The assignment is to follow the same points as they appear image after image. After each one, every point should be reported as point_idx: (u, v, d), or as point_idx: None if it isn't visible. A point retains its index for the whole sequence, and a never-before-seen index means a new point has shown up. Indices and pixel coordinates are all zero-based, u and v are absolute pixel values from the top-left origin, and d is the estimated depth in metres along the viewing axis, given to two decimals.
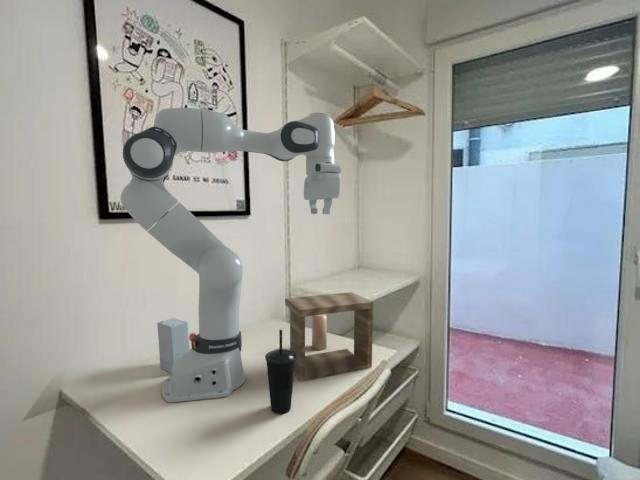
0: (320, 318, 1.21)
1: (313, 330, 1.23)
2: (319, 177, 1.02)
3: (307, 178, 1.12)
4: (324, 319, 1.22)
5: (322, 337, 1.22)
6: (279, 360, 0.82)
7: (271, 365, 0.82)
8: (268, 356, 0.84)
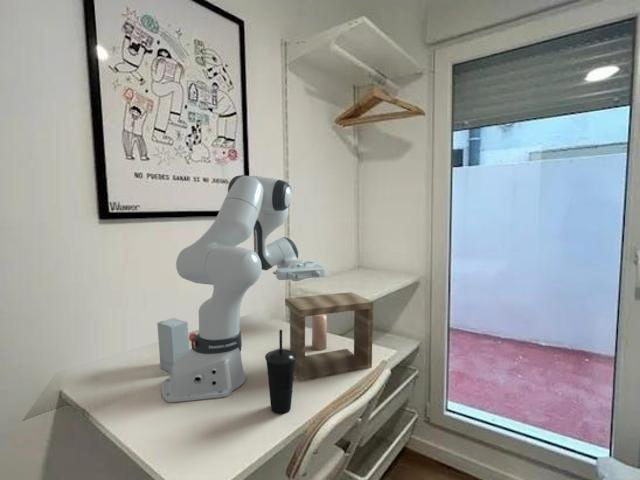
0: (320, 318, 1.21)
1: (313, 330, 1.23)
2: (308, 265, 1.46)
3: (283, 268, 1.42)
4: (324, 319, 1.22)
5: (322, 337, 1.22)
6: (279, 360, 0.82)
7: (271, 365, 0.82)
8: (268, 356, 0.84)
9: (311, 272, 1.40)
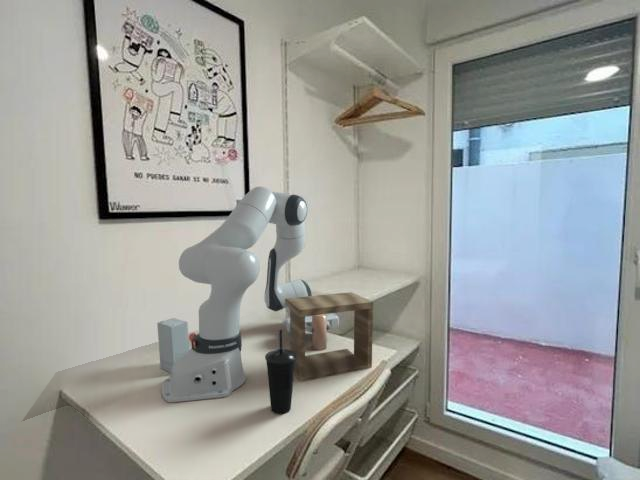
0: (320, 318, 1.21)
1: (313, 330, 1.23)
2: None
3: None
4: (324, 319, 1.22)
5: (322, 337, 1.22)
6: (279, 360, 0.82)
7: (271, 365, 0.82)
8: (268, 356, 0.84)
9: None
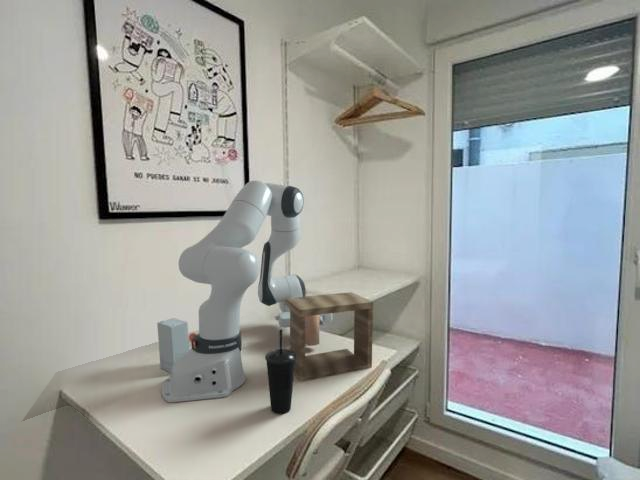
0: None
1: (306, 325, 1.21)
2: None
3: (286, 312, 1.29)
4: None
5: (314, 332, 1.20)
6: (279, 360, 0.82)
7: (271, 365, 0.82)
8: (268, 356, 0.84)
9: None
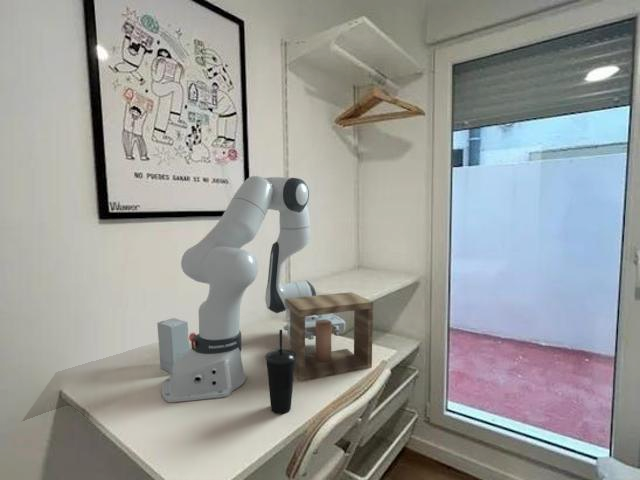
0: (324, 326, 1.10)
1: (317, 339, 1.12)
2: (325, 317, 1.24)
3: None
4: (329, 327, 1.11)
5: (326, 346, 1.11)
6: (279, 360, 0.82)
7: (271, 365, 0.82)
8: (268, 356, 0.84)
9: None
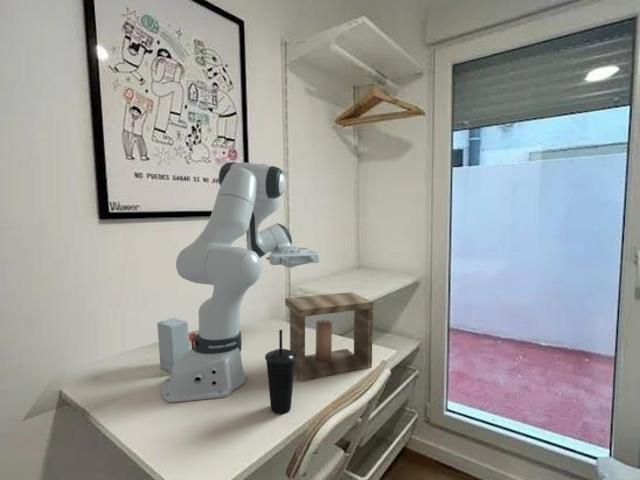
0: (325, 326, 1.10)
1: (317, 339, 1.12)
2: (302, 251, 1.43)
3: (276, 253, 1.39)
4: (329, 327, 1.11)
5: (327, 346, 1.11)
6: (279, 360, 0.82)
7: (271, 365, 0.82)
8: (268, 356, 0.84)
9: (305, 257, 1.38)
